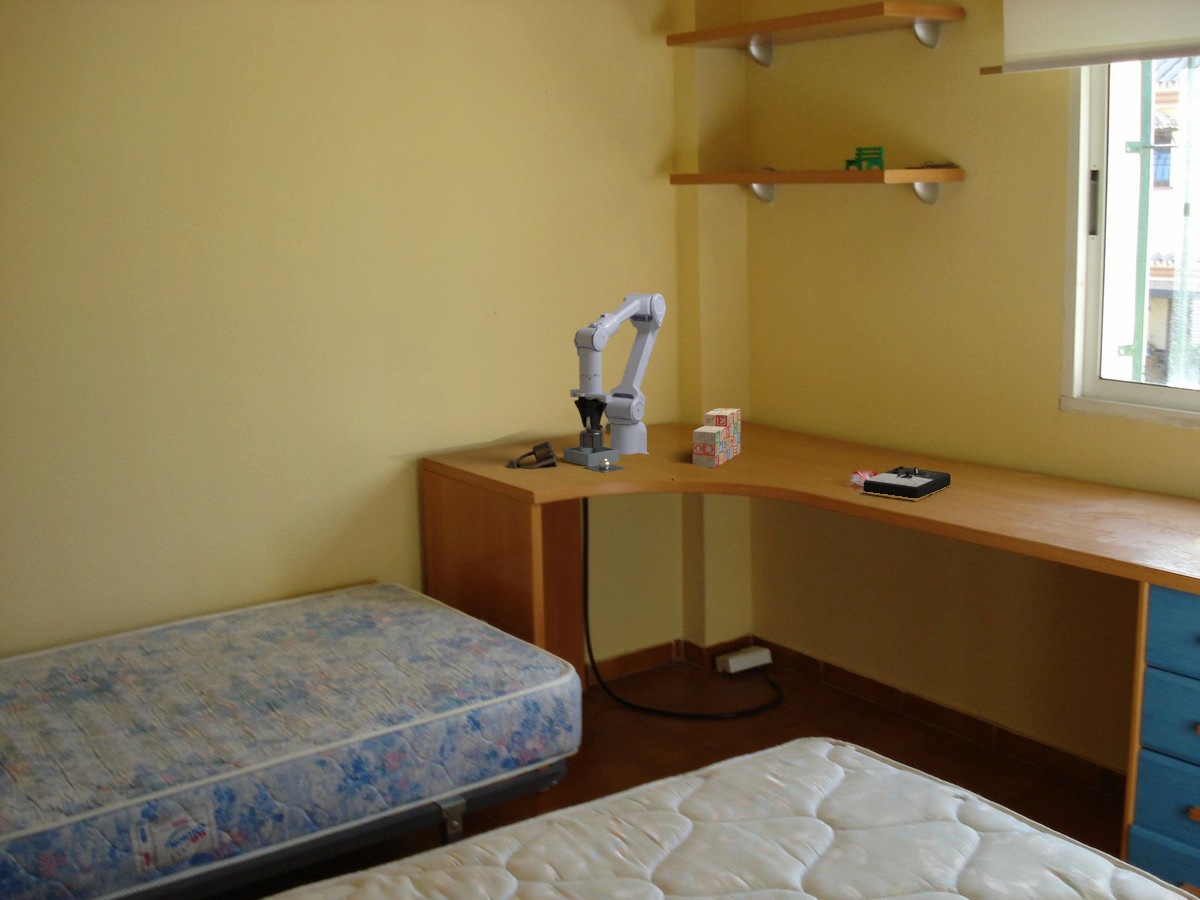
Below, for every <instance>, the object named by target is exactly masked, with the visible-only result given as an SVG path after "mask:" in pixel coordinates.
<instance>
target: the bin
mask: <svg viewBox="0 0 1200 900" xmlns="http://www.w3.org/2000/svg"><path fill="white" fill-rule="evenodd" d="M602 458H607V459H608V461H610V464H611V463H617V462H620V454H619V449H615V448H611V446H610V447H609V446H606V445H604V446H602V447H600V448H583V447H580V445H579V446H573V447H565V448H563V461H565V462H569V463H573V464H576V465H581V466H584V467H590V466H595V465H599V461H601V459H602Z"/></svg>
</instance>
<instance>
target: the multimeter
mask: <svg viewBox="0 0 1200 900" xmlns="http://www.w3.org/2000/svg"><path fill="white" fill-rule="evenodd" d="M951 477H952V476H951V474H950V473H949V472H944V471H936V470H929V469H922V468H921V469H920V468H918V467H917V466H914V467H913V468H912V467H904V466H902V465H901V466H898V467H896V468H892V469H890V470H887V471H885V472H884V471H883V472H882V473H879V474H877V475H874V476H872V477H869V478H866V479H865V480H864V481H863V485H862V486H863V487H862V489H863V490H862V491H865V492H873V493H880V494H888V495H895V496H902V497H908V498H920V497H922V496H925V495H927V494H930V493H932V492H935V491H937V490H940V489H942V488H944V487H947V486H949V485H950V486H951V481H952V480H951V479H952V478H951Z"/></svg>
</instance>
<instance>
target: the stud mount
mask: <svg viewBox="0 0 1200 900" xmlns="http://www.w3.org/2000/svg"><path fill="white" fill-rule="evenodd" d="M583 469H585V470H588V471H592V472H598V473H601V474H604V473H605V474H606V473H610V472H615V471H620V470H627V469H628V468H627V467H623V466H620V465H619V466H618V465H614V464H611V463H610V461H608V459H607V458H602V459H601V461H599V465H594V466H584V467H583Z"/></svg>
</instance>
